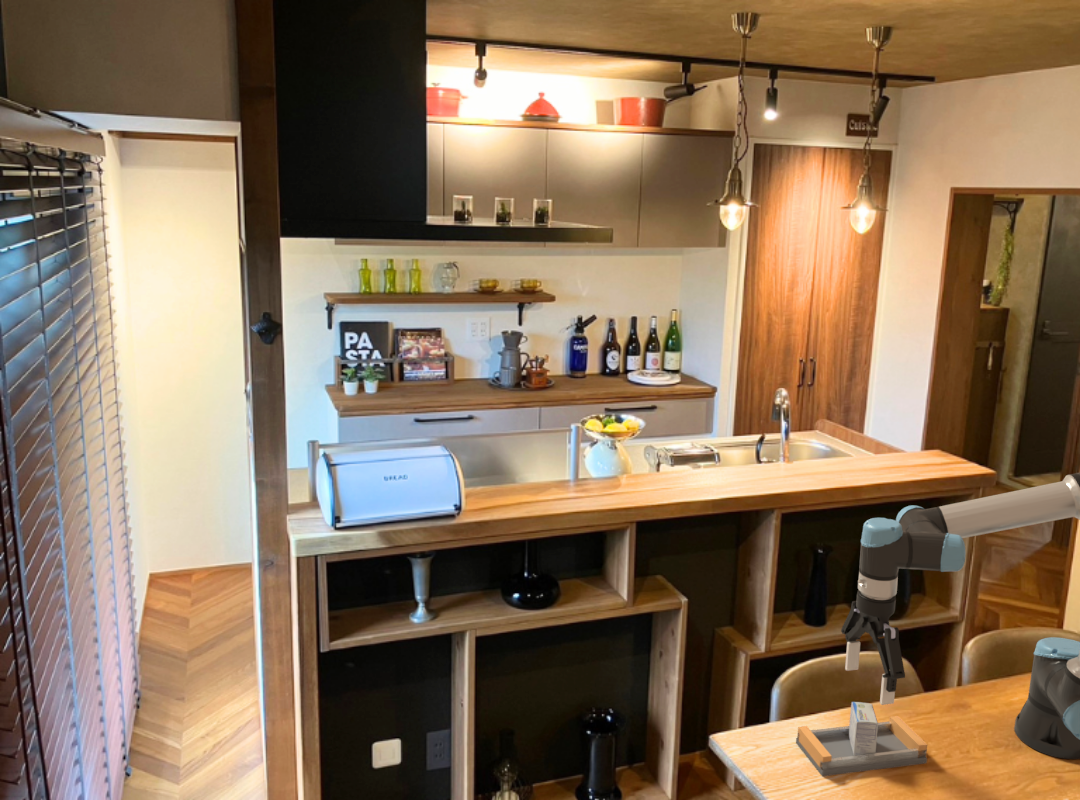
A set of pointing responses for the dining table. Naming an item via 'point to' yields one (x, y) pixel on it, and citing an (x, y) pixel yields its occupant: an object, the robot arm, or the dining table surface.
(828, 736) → the grey shallow tray
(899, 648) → the robot arm
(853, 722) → the medicine box
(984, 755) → the dining table surface
